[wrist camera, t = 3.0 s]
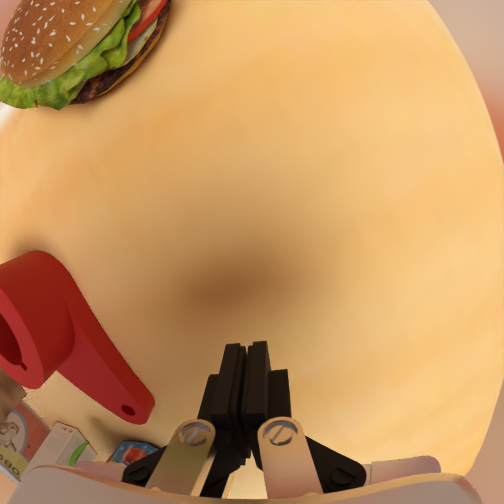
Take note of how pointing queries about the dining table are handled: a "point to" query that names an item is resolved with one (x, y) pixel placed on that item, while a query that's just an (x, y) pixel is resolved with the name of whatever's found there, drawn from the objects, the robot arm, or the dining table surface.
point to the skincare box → (60, 448)
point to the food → (75, 48)
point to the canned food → (20, 440)
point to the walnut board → (9, 394)
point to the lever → (62, 337)
